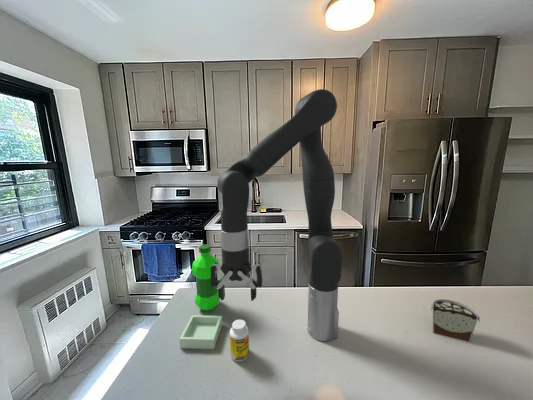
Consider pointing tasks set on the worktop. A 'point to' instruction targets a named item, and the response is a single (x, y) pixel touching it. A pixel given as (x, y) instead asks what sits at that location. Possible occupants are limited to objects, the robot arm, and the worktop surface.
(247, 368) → the worktop surface
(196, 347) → the tray
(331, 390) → the worktop surface
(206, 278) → the plastic bottle
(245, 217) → the robot arm
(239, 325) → the supplement bottle
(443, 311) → the mint chocolate cake slice
